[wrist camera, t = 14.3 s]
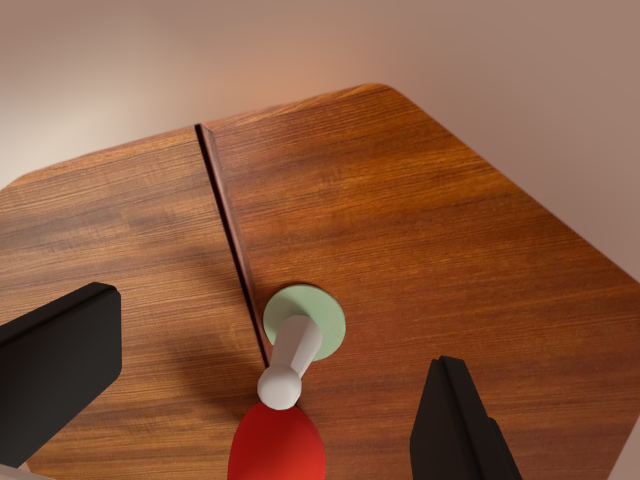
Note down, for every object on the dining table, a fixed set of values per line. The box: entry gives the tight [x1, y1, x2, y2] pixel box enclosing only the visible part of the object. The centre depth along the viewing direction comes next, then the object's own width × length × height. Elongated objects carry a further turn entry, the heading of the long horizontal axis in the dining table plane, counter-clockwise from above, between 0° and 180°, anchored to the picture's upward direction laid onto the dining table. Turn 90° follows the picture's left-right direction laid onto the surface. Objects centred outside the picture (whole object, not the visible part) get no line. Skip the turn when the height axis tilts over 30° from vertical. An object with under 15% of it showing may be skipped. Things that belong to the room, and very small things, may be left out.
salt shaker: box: [258, 315, 322, 410], centre depth 39 cm, size 6×6×13 cm
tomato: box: [227, 402, 326, 480], centre depth 43 cm, size 13×11×14 cm
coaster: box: [263, 284, 346, 361], centre depth 45 cm, size 11×11×1 cm
